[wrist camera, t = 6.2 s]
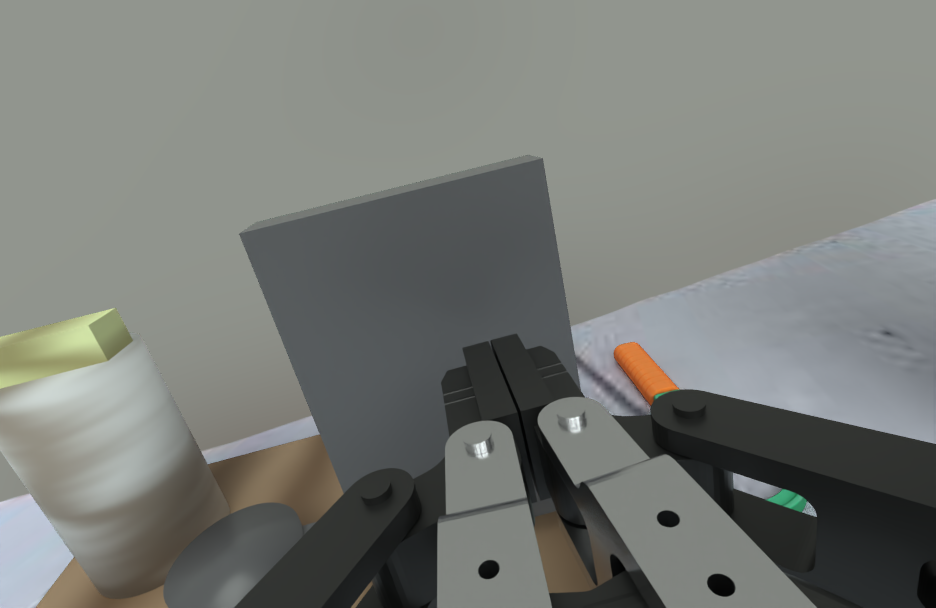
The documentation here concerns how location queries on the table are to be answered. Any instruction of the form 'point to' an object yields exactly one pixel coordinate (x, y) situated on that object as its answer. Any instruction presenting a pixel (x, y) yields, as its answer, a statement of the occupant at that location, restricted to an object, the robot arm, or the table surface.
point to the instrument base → (148, 466)
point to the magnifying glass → (658, 383)
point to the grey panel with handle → (388, 335)
